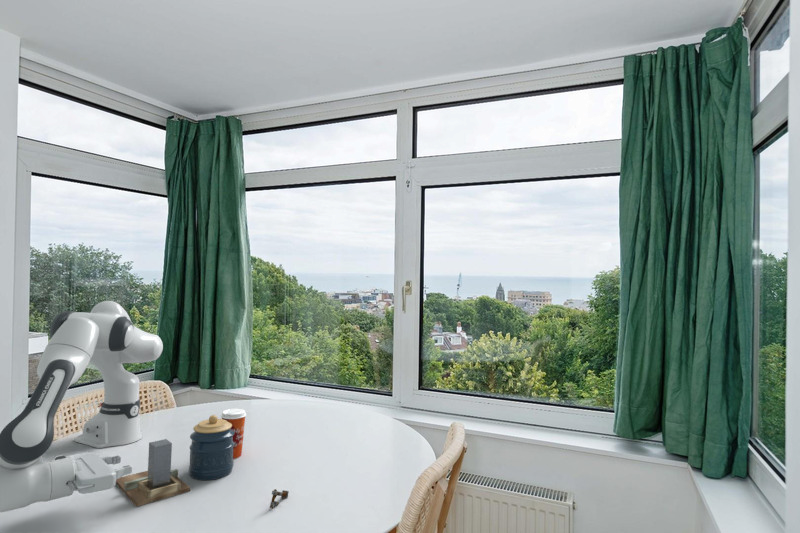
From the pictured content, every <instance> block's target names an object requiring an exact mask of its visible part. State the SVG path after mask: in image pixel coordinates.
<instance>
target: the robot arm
mask: <svg viewBox="0 0 800 533" xmlns="http://www.w3.org/2000/svg"><path fill="white" fill-rule="evenodd" d="M49 336H50V339H49V342H48V343H47V345H46V347H45V348H44V350H43V352H42V354H41V356H40V358H39V362H38V365H37V368H36V375H37V377H38V382H37V385H36V387H35V388H34V390H33V393H32V394H31V395H30V398H29V400H28V402H27V404H26V405H25V407H24V408H23V410H22V411H21V413H20V414H18V415H17V416H16V417H15V418H13V419H12V420H11V421H9V423H7V424H6V425H5V426H4V427H3V429H1V431H0V513H5V512H10V511H14V510H18V509H23V508H26V507H28V506H30V505H32V504H35V503H41V502H51V501H54V500H59V499H62V498H66V497H70V496H72V495H73V494H74V492H78V493H79V494H82V495H87V494H92V493H98V492H103V491H107V490H111V489H113V488H115V487H116V486H117V485H116V479H119V478H120V477H124V476H128V475H131V474H132V471H133V467H132V466H131V465H128V464H127V465H123V466H122V467H121V468H118V469H117V468H116V469H115V468H114V469H113V468H112V467H111V466H110V465H117V464H120V463H121V462H122V457H121V456H120V455H118V454H117V455H113V456H109V455H105V456H100V455H99V454H97V452H93V451H92V452H91V451H89V452H82V453H75V454H70V455H67V456H66V455H65V454H61V455H60V454H59V455H56V456H55V457H54V458H53V460H52V461H48V462H44V461H43V455H44V454H45V453H46V452H47V451H48V450H49V449H50V447H51V446H52V443H53V441H54V435H55V426H54V425H55V423H54V420H55V416H56V414H57V412H58V409H59V407H60V405H61V403H62V401H63V398H64V396H65V394H66V392H67V391H68V389H69V387H70V386H71V385H74V384H75V383H77V382H78V380H79V379H80V378H81V377H82V375H83V374H84V372H85V370H86V369H87V367H88V365H89V363H90V364H92V365H93V366H94V367H95V368H96V369H97V370H98V371H99V373H100V374H101V377H102V380H103V389H104V396H103V397H104V401H103V402H100V403H98V404H97V408H100V409H99V412H97V414H94V416H92V417H91V418H90V419H88V420H87V421H86V422H85V423H84V424H83V427H82V428H83V429H82V433H81V434H79V435H77V436H76V437H75V438H74V441H73V442H76V443H80V444H83V445H86V446H89V447H93V448H96V449H97V448H98V449H102V448H107V447H118V446H124V445H128V444H132V443H135V442H137V441H140V440H141V439H142V438H143V433H142V428H141V420H140V409H141V399H140V382H141V381H140V378H139V377H138V376H137V375H136V374H134V373H133V372H130V371H128V370H126V369H125V368H124V366H123V364H143V363H149V362H153V361H156V360H158V359H159V358H160V357H161V355H162V353H163V351H164V350H163V349H164V345H163V341H162V339H161V337H160V336H159V335H157V334H154V333H150V332H147V331H145V330H143V329H140V328H139V327H137V326H136V325H134V323H133V322H132V320H131V317H130V316H129V314H128V312H127V311H126V309H124V308H123V306H121V305H120V304H119V303H117V302H115V301H114V300H104V301H100V302H98V303H97V304H95V305H94V306H93V308H91V311H90V312H87V311H86V312H85V311H81V312H80V311H79V312H78V311H75V310H67V311H62V312H60V313H59V314H57V315H55V317H54V318H53V320H52V322H51V324H50V329H49Z"/></svg>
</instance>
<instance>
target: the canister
mask: <svg viewBox="0 0 800 533" xmlns="http://www.w3.org/2000/svg"><path fill="white" fill-rule="evenodd" d="M231 427H232V424H231V423H229V422H227V421H226V420H224V419H222V418H218V416H217V415H216V414H212V415H210V416H209V418H208V419H205V420H201V421H200V422H198V423H197V424H196V425H194V426H193V428H192V430H193V432H192V433H191V434H190V435H189V439H190V440H191V444H190V445H189V465H188V472H189V474H188V475H189V476H190V478H192V479H195V480H200V481H211V480H217V479H221V478H224V477H225V476H229V475H230V473H232V471H233V468H234V459H233V446H234V441H233V435H234V433H235V432H234V430H232V429H231Z"/></svg>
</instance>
